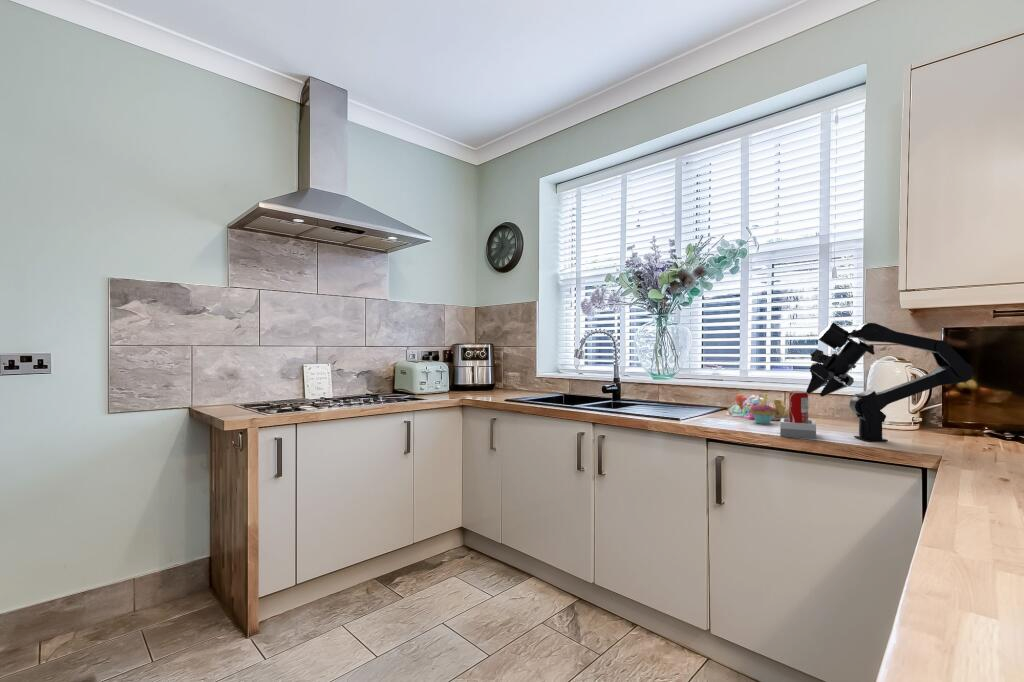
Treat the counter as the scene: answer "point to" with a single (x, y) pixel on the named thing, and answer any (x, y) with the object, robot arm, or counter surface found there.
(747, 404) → the colorful dessert platter
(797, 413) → the soda can
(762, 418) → the cupcake
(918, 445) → the counter surface
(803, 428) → the socket block
